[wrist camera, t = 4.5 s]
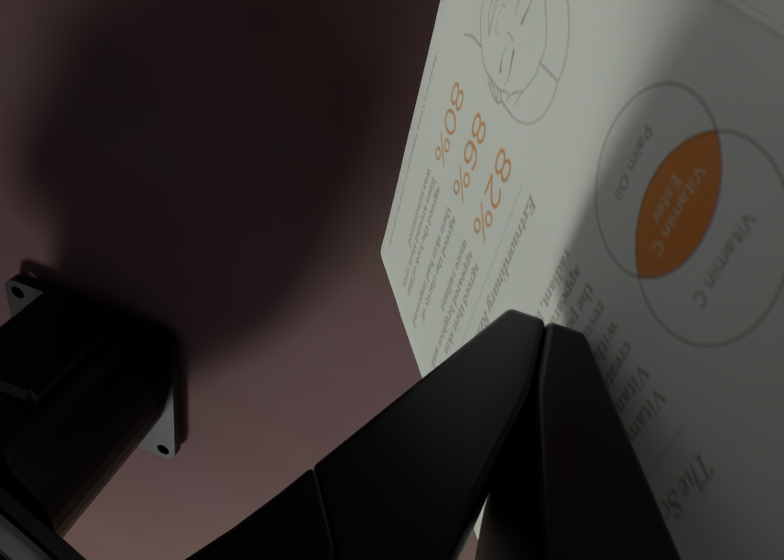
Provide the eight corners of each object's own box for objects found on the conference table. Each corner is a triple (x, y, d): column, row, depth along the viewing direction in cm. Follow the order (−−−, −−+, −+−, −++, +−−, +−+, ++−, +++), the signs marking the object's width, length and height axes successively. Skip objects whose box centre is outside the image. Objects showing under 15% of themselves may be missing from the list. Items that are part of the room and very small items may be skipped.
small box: (591, 256, 17) (927, 740, 10) (371, 250, 16) (562, 832, 8) (764, -103, 12) (1743, 293, 5) (470, -170, 11) (1243, 284, 3)
